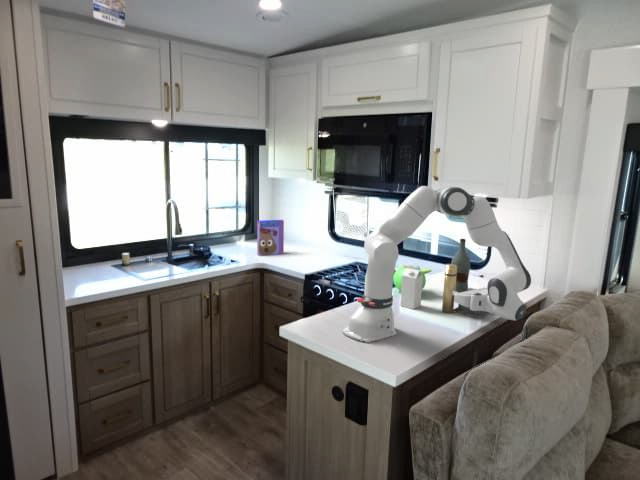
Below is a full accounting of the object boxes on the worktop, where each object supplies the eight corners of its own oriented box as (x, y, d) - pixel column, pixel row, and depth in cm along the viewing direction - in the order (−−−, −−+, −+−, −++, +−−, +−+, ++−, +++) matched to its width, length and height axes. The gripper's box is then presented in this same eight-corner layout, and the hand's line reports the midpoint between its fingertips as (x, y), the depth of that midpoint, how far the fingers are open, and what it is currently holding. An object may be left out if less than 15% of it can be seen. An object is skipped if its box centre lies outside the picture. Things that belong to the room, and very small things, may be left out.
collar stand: (480, 319, 193) (481, 305, 191) (453, 311, 202) (454, 297, 200) (493, 312, 202) (494, 298, 200) (466, 304, 211) (467, 291, 209)
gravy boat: (387, 288, 235) (389, 261, 232) (416, 286, 239) (418, 260, 236) (401, 298, 217) (403, 270, 215) (432, 296, 222) (434, 268, 219)
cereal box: (259, 256, 300) (259, 221, 295) (257, 254, 304) (257, 220, 299) (283, 254, 306) (283, 220, 302) (281, 252, 311) (281, 219, 306)
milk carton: (407, 302, 213) (409, 264, 209) (420, 305, 208) (423, 266, 205) (400, 305, 207) (402, 267, 204) (413, 309, 203) (416, 269, 199)
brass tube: (449, 314, 197) (453, 267, 193) (439, 311, 201) (443, 265, 197) (455, 311, 201) (459, 265, 197) (445, 308, 205) (449, 263, 200)
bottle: (454, 300, 216) (459, 241, 210) (444, 295, 225) (449, 237, 219) (471, 299, 219) (476, 240, 213) (460, 293, 227) (465, 237, 222)
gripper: (504, 289, 186) (477, 281, 198) (471, 296, 176) (445, 287, 187) (502, 303, 187) (476, 294, 199) (470, 311, 177) (444, 301, 188)
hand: (461, 291), depth 193 cm, fingers open, 8 cm apart
